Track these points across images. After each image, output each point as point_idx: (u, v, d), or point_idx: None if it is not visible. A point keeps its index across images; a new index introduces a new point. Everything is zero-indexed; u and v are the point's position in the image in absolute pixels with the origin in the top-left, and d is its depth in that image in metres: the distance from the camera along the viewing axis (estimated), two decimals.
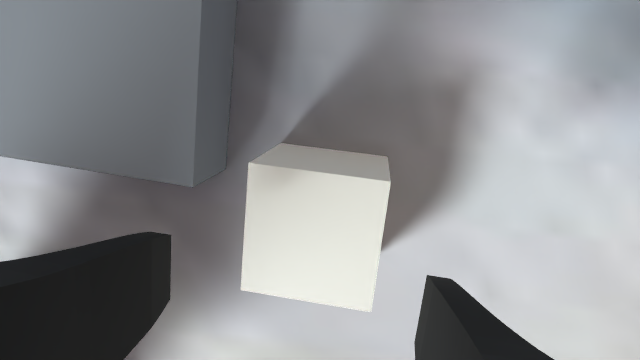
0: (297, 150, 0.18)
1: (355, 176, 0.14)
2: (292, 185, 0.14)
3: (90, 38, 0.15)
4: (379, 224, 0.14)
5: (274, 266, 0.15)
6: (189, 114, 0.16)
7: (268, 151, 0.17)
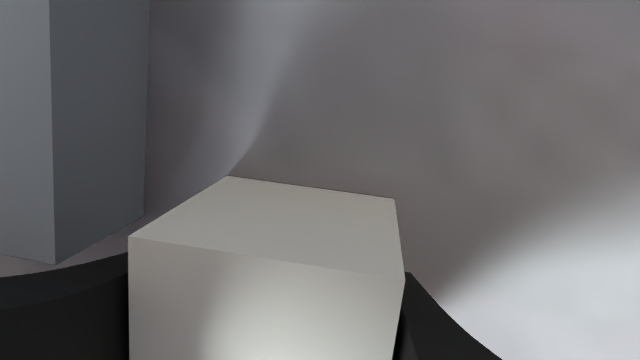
0: (246, 193, 0.11)
1: (333, 267, 0.07)
2: (213, 279, 0.07)
3: None
4: (381, 357, 0.07)
5: None
6: (41, 140, 0.09)
7: (191, 198, 0.10)
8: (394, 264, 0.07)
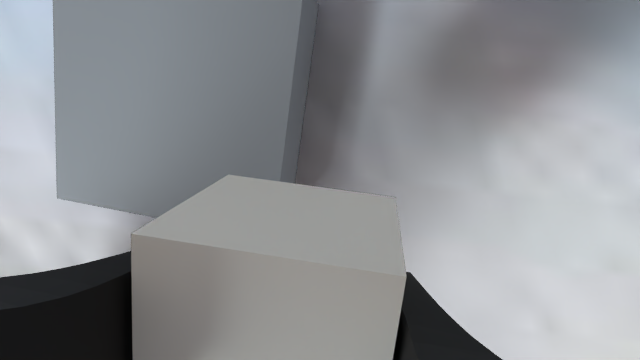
0: (247, 191, 0.11)
1: (335, 264, 0.07)
2: (216, 277, 0.07)
3: (183, 100, 0.16)
4: (383, 354, 0.07)
5: None
6: (274, 173, 0.17)
7: (194, 197, 0.10)
8: (395, 261, 0.07)
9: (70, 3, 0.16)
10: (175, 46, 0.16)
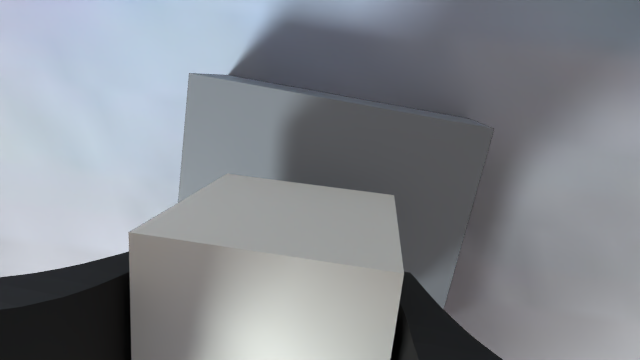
0: (246, 190, 0.11)
1: (333, 261, 0.07)
2: (213, 275, 0.07)
3: None
4: (380, 351, 0.07)
5: None
6: None
7: (192, 196, 0.10)
8: (393, 258, 0.07)
9: (205, 128, 0.14)
10: (328, 182, 0.14)
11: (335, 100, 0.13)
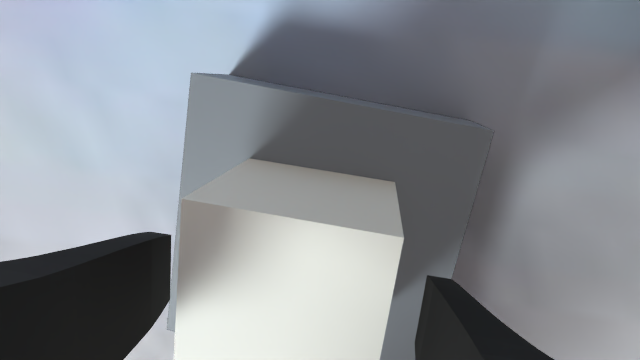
0: (268, 172, 0.13)
1: (347, 227, 0.09)
2: (250, 235, 0.09)
3: None
4: (382, 301, 0.09)
5: (222, 353, 0.10)
6: None
7: (224, 174, 0.12)
8: (395, 227, 0.09)
9: (207, 127, 0.14)
10: None
11: (336, 101, 0.13)
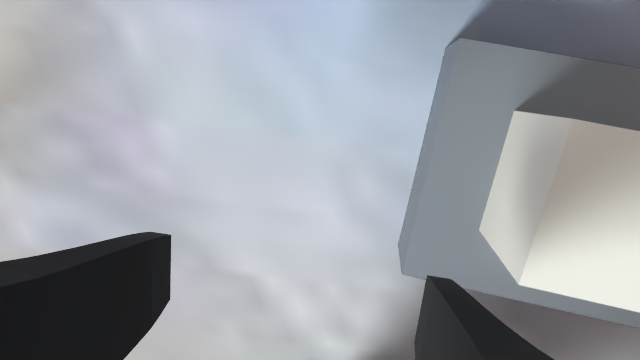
0: None
1: None
2: (629, 152, 0.11)
3: None
4: None
5: (574, 257, 0.12)
6: None
7: (539, 114, 0.13)
8: None
9: (469, 87, 0.16)
10: None
11: (595, 61, 0.15)
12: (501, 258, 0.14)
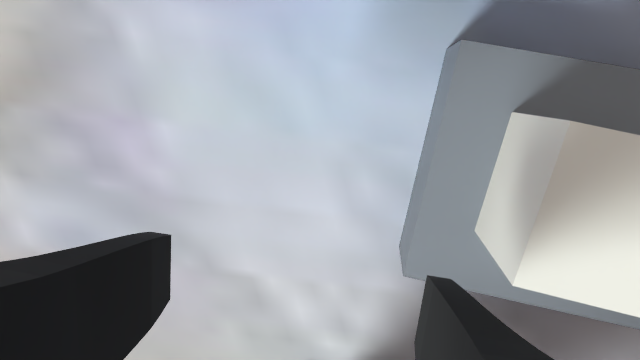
0: None
1: None
2: (626, 155, 0.11)
3: None
4: None
5: (569, 259, 0.12)
6: None
7: (537, 116, 0.13)
8: None
9: (470, 88, 0.16)
10: None
11: (596, 62, 0.15)
12: (496, 259, 0.14)
